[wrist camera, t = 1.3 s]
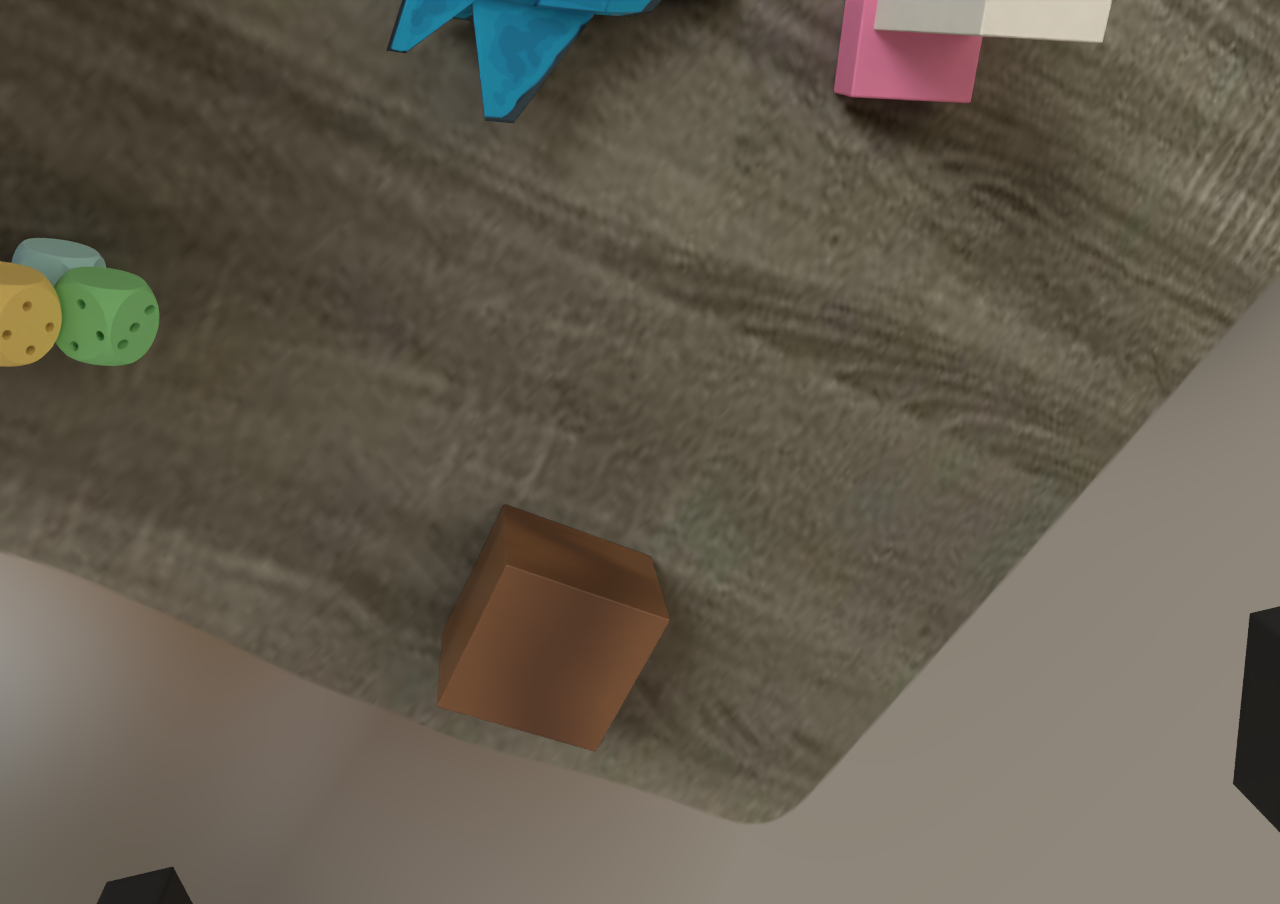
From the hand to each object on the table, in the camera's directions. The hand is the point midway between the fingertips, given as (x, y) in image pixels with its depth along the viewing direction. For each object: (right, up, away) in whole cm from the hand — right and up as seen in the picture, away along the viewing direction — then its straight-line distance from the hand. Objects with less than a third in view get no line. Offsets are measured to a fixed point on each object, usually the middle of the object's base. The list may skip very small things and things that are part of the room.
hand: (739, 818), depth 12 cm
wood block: (-5, -2, +31) cm, 32 cm away
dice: (-22, +11, +23) cm, 33 cm away
